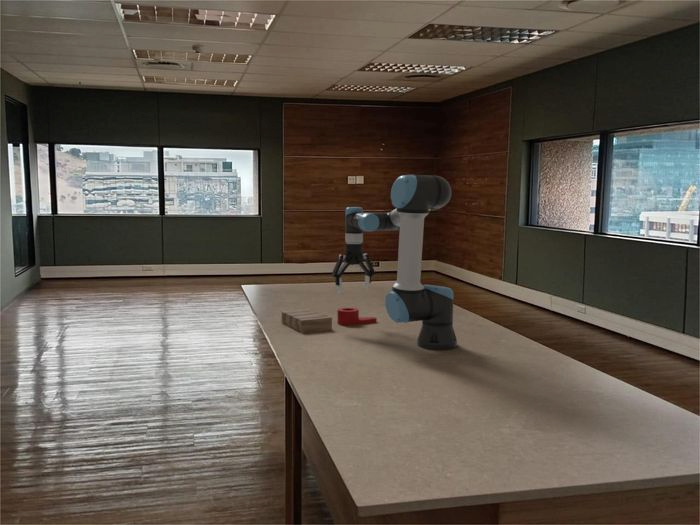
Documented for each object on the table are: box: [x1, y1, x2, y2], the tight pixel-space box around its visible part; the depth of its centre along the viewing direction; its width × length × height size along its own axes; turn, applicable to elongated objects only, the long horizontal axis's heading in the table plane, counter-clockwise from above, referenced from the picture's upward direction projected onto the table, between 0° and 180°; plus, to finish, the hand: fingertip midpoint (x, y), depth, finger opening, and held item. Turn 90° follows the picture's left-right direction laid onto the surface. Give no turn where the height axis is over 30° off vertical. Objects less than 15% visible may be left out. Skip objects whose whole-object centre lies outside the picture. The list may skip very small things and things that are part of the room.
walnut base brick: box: [281, 308, 333, 333], centre depth 272 cm, size 22×14×6 cm, turn 28°
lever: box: [337, 307, 377, 326], centre depth 281 cm, size 18×9×7 cm, turn 106°
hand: (353, 291), depth 273 cm, fingers open, 13 cm apart
